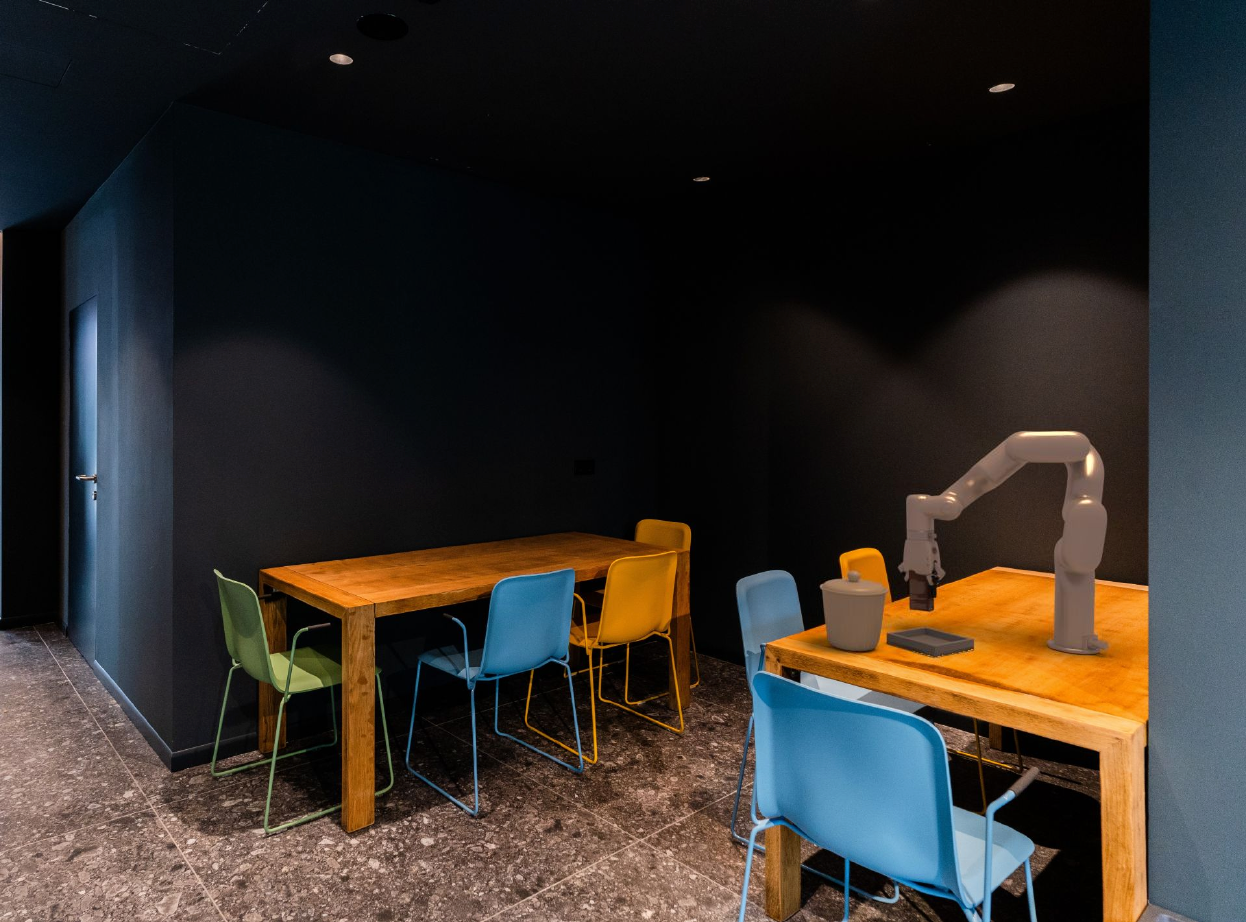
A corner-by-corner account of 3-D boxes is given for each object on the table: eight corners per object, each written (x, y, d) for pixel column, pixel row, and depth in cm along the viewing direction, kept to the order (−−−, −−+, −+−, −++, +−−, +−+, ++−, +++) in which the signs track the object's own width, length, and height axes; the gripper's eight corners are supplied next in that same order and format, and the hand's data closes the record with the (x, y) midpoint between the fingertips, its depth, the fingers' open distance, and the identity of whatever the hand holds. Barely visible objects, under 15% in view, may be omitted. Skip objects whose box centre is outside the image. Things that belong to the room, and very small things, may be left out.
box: (934, 610, 224) (934, 569, 224) (928, 612, 220) (928, 571, 220) (914, 607, 228) (913, 567, 228) (908, 609, 225) (907, 569, 224)
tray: (973, 650, 206) (974, 639, 206) (934, 657, 198) (934, 646, 198) (924, 636, 220) (925, 626, 220) (886, 643, 212) (886, 633, 212)
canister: (858, 636, 220) (859, 564, 220) (902, 652, 204) (903, 574, 203) (806, 641, 214) (807, 567, 213) (846, 658, 197) (847, 578, 197)
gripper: (954, 537, 218) (955, 599, 218) (905, 533, 233) (906, 590, 234) (936, 539, 215) (938, 602, 215) (888, 534, 230) (889, 593, 230)
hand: (921, 595), depth 224 cm, fingers closed on box, 6 cm apart
